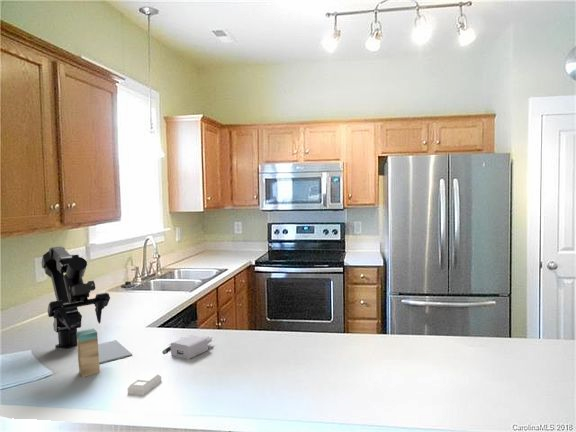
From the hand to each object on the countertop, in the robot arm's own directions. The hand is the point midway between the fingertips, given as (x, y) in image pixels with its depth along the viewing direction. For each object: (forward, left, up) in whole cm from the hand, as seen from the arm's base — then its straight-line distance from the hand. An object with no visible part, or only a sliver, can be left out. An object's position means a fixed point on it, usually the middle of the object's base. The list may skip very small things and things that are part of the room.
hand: (85, 326), depth 140 cm
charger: (+29, +20, -13) cm, 38 cm away
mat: (-2, +10, -13) cm, 16 cm away
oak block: (+6, -5, -13) cm, 15 cm away
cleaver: (+17, +23, -13) cm, 31 cm away
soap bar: (+31, -9, -13) cm, 35 cm away
